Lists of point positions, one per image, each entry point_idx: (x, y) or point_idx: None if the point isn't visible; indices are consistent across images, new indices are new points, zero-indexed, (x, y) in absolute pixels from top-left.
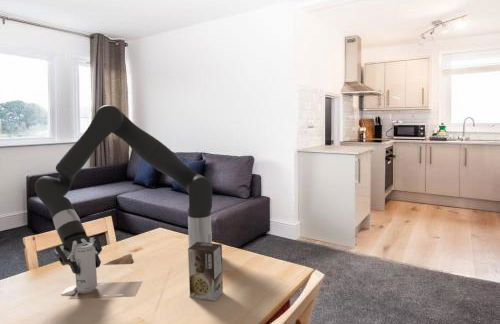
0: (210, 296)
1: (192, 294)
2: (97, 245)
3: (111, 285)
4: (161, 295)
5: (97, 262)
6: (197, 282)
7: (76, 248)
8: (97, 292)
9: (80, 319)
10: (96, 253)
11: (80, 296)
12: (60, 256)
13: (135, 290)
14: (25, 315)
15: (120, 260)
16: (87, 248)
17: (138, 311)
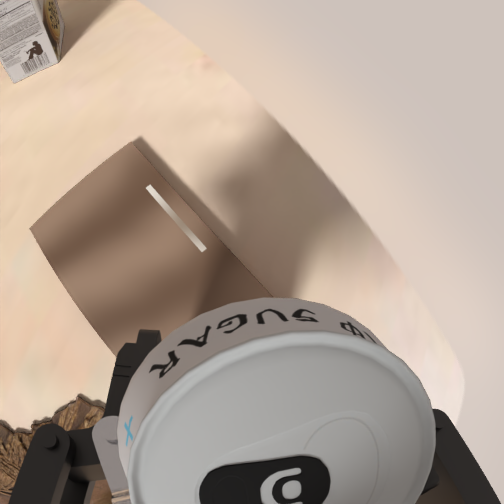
0: (61, 22)
1: (58, 50)
2: (49, 495)
3: (122, 315)
4: (75, 110)
5: (153, 345)
6: (50, 14)
7: (415, 460)
8: (205, 304)
9: (336, 186)
10: (111, 422)
11: None
12: (468, 461)
13: (96, 178)
14: (437, 362)
15: (2, 494)
16: (307, 329)
17: (185, 85)
